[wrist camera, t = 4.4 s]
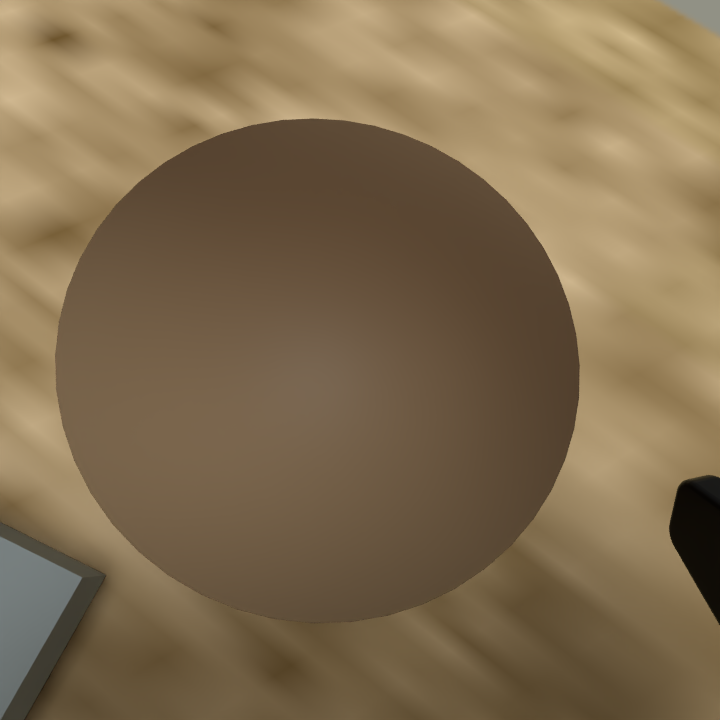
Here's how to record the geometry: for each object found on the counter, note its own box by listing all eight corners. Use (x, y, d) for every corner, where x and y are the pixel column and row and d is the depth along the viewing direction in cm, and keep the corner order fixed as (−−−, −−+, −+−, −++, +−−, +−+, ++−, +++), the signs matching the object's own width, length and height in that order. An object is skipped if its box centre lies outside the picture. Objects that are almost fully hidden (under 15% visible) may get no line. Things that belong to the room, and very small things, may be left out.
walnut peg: (334, 616, 17) (466, 725, 6) (156, 527, 17) (-63, 464, 6) (414, 438, 19) (642, 250, 7) (249, 357, 19) (222, 44, 7)
